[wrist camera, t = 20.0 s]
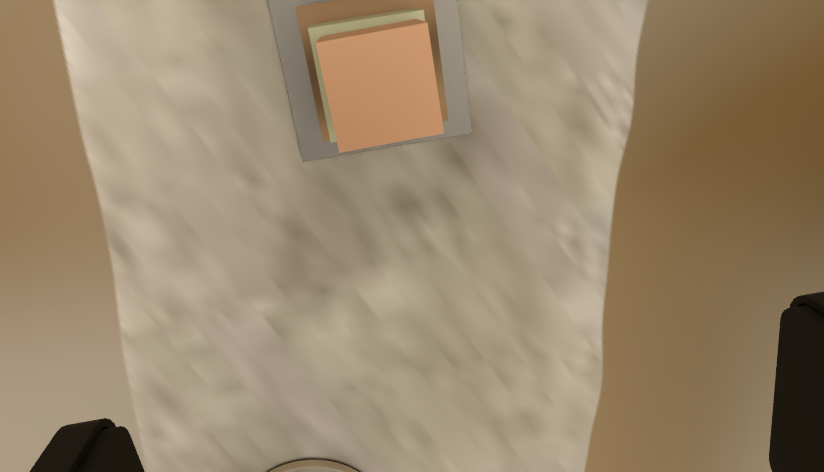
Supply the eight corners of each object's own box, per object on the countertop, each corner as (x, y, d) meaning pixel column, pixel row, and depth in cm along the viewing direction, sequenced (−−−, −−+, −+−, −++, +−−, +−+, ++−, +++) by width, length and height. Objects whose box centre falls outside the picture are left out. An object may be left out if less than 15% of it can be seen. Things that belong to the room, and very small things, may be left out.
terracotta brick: (431, 114, 34) (444, 133, 29) (341, 131, 34) (339, 153, 29) (416, 18, 32) (427, 22, 27) (320, 36, 32) (315, 42, 27)
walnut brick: (440, 109, 43) (448, 120, 39) (325, 128, 42) (323, 141, 39) (424, -14, 40) (431, -15, 36) (300, 5, 40) (295, 6, 36)
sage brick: (428, 109, 39) (438, 125, 34) (333, 125, 38) (330, 142, 34) (414, 8, 36) (423, 9, 32) (313, 24, 36) (307, 28, 32)
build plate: (470, 131, 44) (472, 133, 43) (303, 158, 44) (302, 161, 43) (449, -52, 40) (451, -53, 39) (264, -23, 39) (262, -23, 39)
